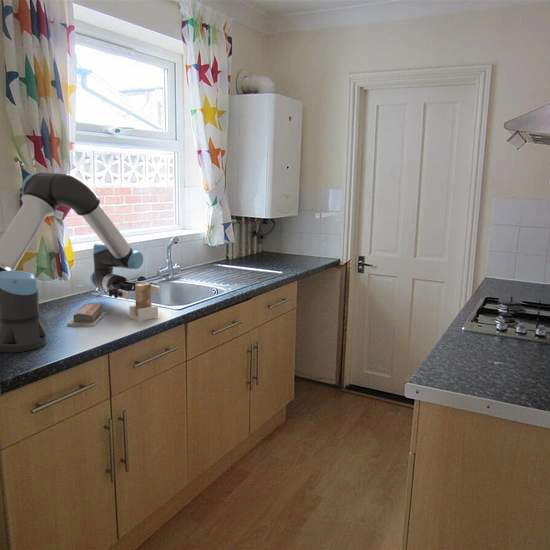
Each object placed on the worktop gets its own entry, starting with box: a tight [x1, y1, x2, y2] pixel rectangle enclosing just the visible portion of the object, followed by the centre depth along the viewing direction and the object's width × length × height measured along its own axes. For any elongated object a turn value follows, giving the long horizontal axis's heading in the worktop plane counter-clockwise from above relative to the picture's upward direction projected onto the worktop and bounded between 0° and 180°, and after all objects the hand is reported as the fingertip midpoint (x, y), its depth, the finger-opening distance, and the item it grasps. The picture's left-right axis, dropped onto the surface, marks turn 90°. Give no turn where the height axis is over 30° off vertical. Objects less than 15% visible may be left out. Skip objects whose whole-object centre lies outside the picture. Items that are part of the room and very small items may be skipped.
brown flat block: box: [66, 303, 108, 327], centre depth 196 cm, size 18×5×10 cm
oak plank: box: [134, 283, 152, 316], centre depth 199 cm, size 5×3×12 cm, turn 136°
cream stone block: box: [129, 304, 159, 322], centre depth 200 cm, size 8×7×4 cm
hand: (143, 293), depth 199 cm, fingers open, 13 cm apart
